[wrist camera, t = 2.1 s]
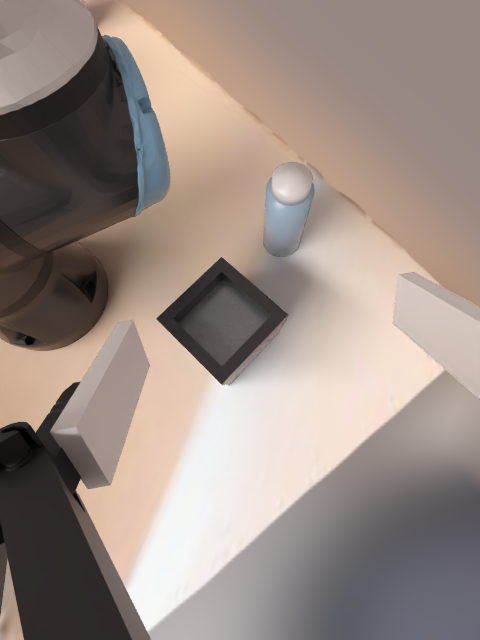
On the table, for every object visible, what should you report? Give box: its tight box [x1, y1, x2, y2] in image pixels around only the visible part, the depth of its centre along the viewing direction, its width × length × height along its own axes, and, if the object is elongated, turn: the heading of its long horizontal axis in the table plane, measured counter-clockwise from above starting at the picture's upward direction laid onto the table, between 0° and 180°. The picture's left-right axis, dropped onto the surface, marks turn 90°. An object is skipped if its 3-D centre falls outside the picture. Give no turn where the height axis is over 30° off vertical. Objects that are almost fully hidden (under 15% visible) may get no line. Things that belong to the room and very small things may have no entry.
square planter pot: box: [157, 257, 288, 386], centre depth 33 cm, size 9×9×8 cm
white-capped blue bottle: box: [263, 162, 314, 257], centre depth 35 cm, size 5×5×12 cm
